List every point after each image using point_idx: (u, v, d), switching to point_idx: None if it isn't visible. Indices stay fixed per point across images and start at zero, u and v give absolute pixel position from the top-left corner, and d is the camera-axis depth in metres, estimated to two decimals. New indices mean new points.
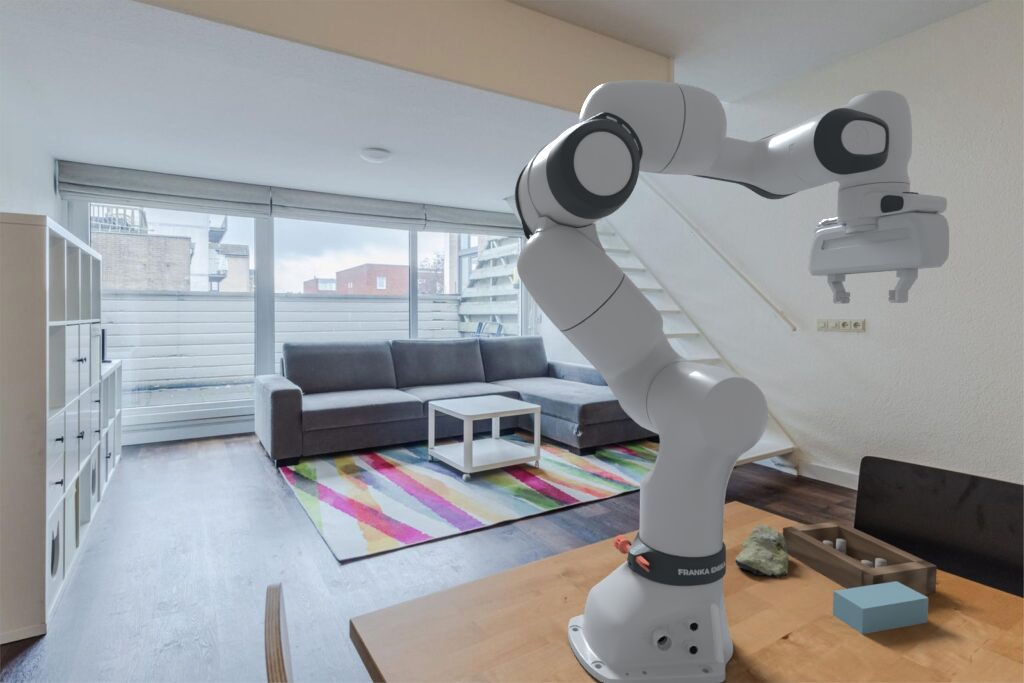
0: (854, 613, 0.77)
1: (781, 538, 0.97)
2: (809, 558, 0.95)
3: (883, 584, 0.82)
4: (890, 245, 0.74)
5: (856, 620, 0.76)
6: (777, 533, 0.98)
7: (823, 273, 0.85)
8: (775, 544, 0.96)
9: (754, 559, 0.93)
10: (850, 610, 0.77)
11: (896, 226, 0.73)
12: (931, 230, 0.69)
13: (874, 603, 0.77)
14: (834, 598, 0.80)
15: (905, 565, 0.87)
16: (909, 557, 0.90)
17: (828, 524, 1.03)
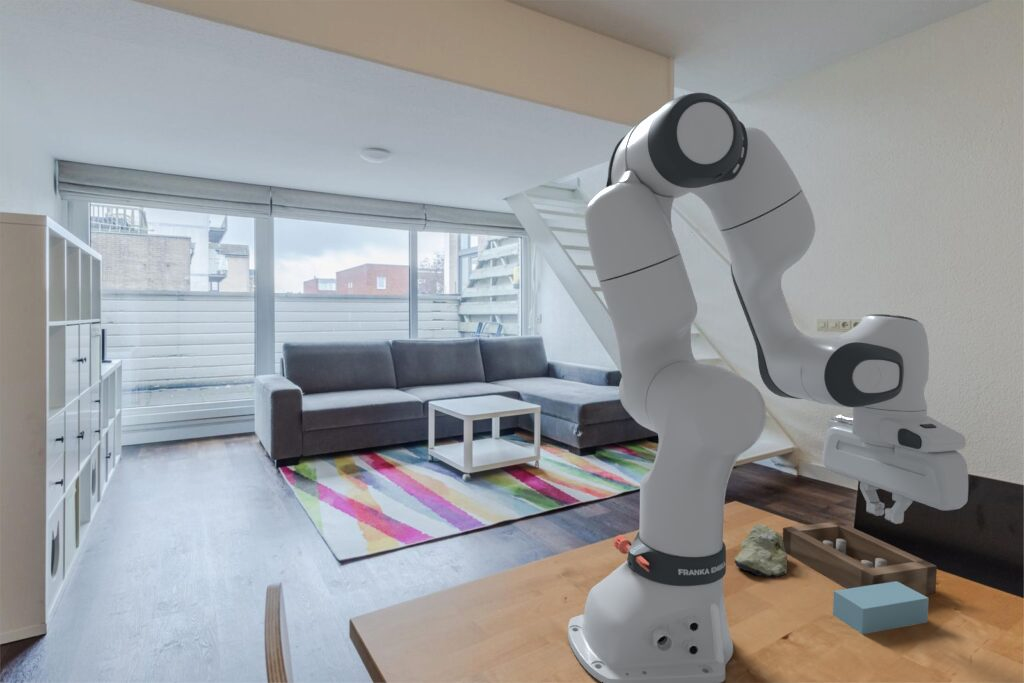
0: (854, 613, 0.77)
1: (779, 538, 0.98)
2: (809, 558, 0.95)
3: (883, 584, 0.82)
4: (908, 476, 0.73)
5: (856, 620, 0.76)
6: (775, 533, 0.98)
7: (838, 473, 0.84)
8: (773, 544, 0.96)
9: (754, 559, 0.93)
10: (850, 610, 0.77)
11: (914, 459, 0.72)
12: (950, 476, 0.68)
13: (875, 603, 0.77)
14: (834, 598, 0.80)
15: (905, 565, 0.87)
16: (909, 557, 0.90)
17: (828, 524, 1.03)
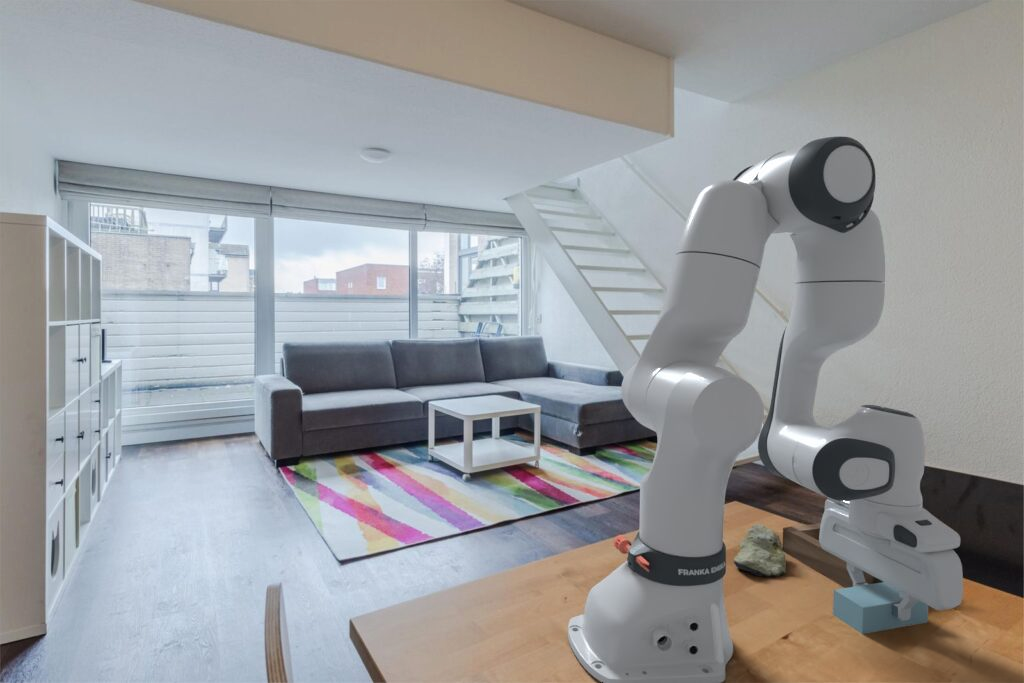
0: (854, 612, 0.77)
1: (776, 537, 0.98)
2: (809, 558, 0.95)
3: (883, 583, 0.82)
4: (903, 570, 0.74)
5: (856, 619, 0.76)
6: (772, 532, 0.98)
7: (834, 555, 0.85)
8: (772, 544, 0.96)
9: (754, 559, 0.93)
10: (850, 609, 0.77)
11: (909, 555, 0.73)
12: (945, 577, 0.69)
13: (875, 602, 0.77)
14: (834, 597, 0.80)
15: None
16: None
17: None
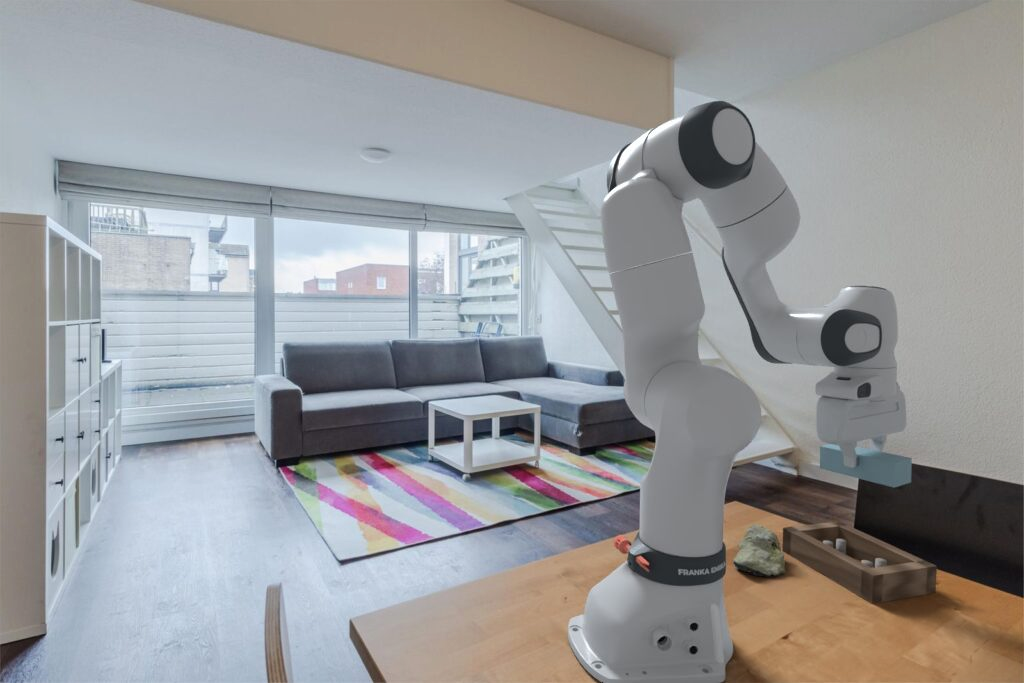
0: None
1: (775, 537, 0.98)
2: (809, 558, 0.95)
3: (891, 454, 0.88)
4: None
5: None
6: (771, 532, 0.98)
7: None
8: (770, 543, 0.96)
9: (753, 560, 0.92)
10: None
11: None
12: (822, 414, 0.86)
13: (838, 449, 0.92)
14: None
15: (905, 565, 0.87)
16: (909, 557, 0.90)
17: (828, 524, 1.03)
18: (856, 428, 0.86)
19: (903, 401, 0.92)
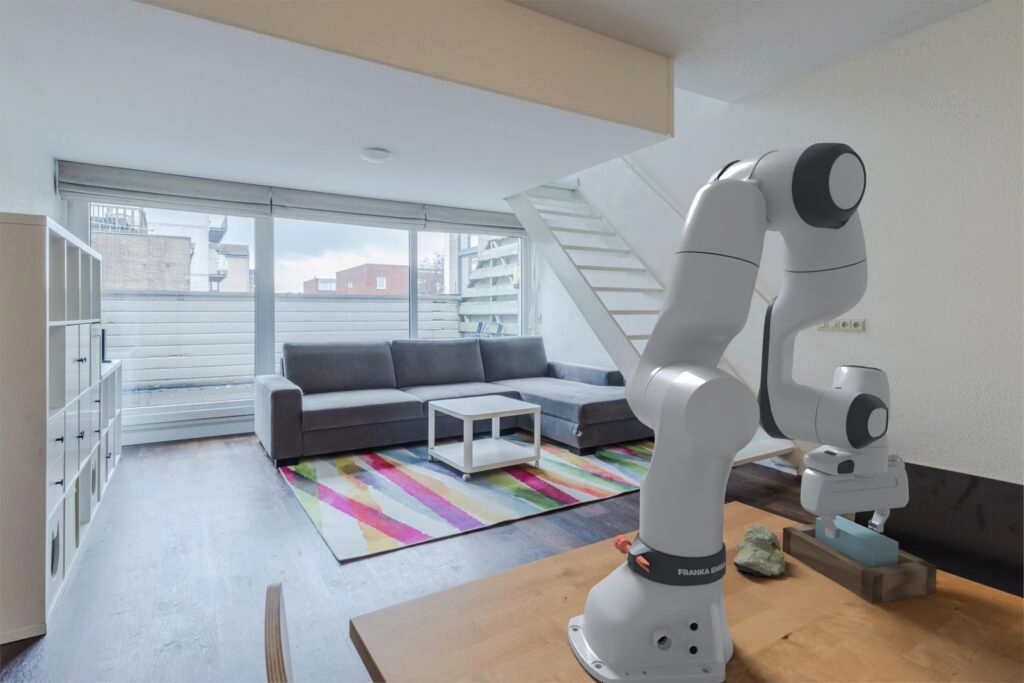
0: None
1: (774, 537, 0.98)
2: (809, 558, 0.95)
3: (881, 535, 0.91)
4: None
5: None
6: (770, 532, 0.98)
7: None
8: (770, 544, 0.96)
9: (754, 560, 0.92)
10: None
11: None
12: (805, 485, 0.92)
13: None
14: None
15: (905, 565, 0.87)
16: (909, 557, 0.90)
17: None
18: (839, 501, 0.90)
19: (904, 478, 0.94)
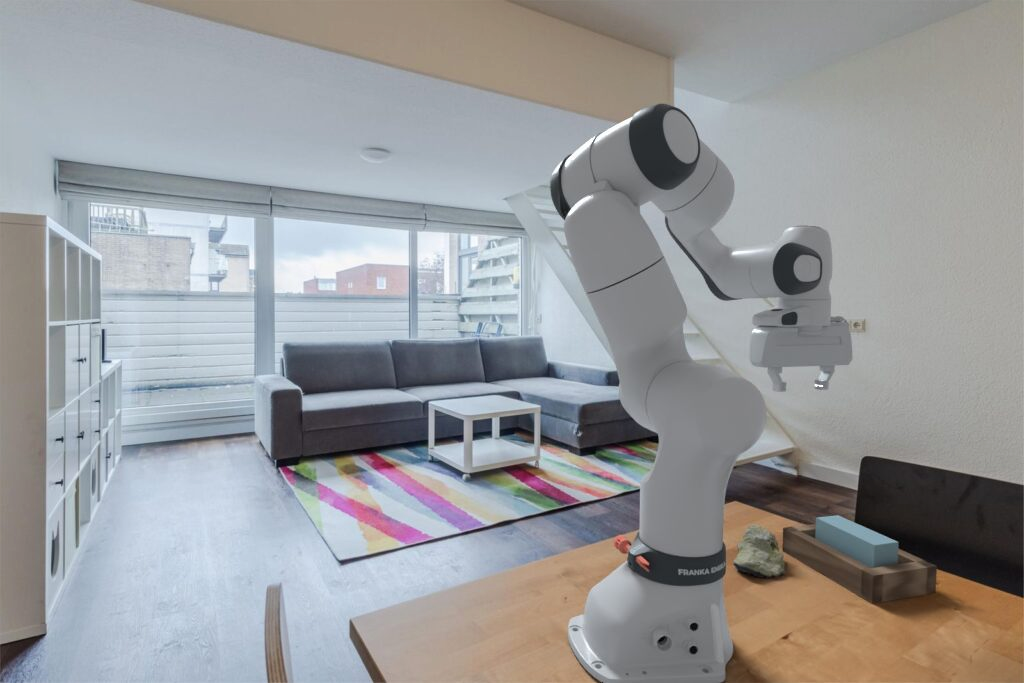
0: None
1: (773, 537, 0.98)
2: (809, 558, 0.95)
3: (881, 535, 0.91)
4: None
5: None
6: (769, 532, 0.98)
7: None
8: (769, 544, 0.96)
9: (754, 561, 0.92)
10: None
11: None
12: (753, 340, 0.97)
13: (831, 523, 0.96)
14: None
15: (905, 565, 0.87)
16: (909, 557, 0.90)
17: None
18: (785, 354, 0.96)
19: (848, 336, 0.99)
